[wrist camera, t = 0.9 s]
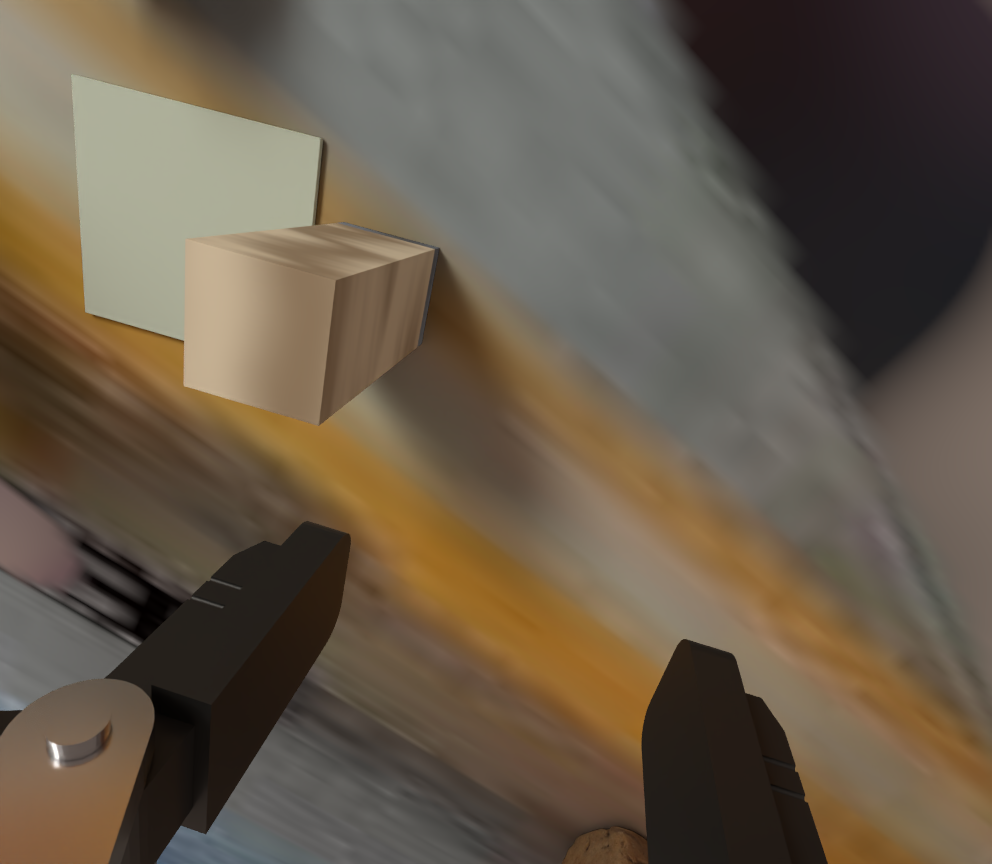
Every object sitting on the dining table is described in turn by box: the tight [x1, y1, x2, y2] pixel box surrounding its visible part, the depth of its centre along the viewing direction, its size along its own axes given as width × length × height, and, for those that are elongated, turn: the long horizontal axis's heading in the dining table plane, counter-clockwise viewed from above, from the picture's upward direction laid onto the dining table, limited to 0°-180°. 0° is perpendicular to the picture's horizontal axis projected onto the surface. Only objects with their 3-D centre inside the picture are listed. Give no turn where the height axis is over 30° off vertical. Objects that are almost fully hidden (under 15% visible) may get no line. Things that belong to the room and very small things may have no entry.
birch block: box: [184, 222, 439, 426], centre depth 24 cm, size 5×5×12 cm
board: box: [71, 74, 323, 341], centre depth 31 cm, size 13×12×1 cm
